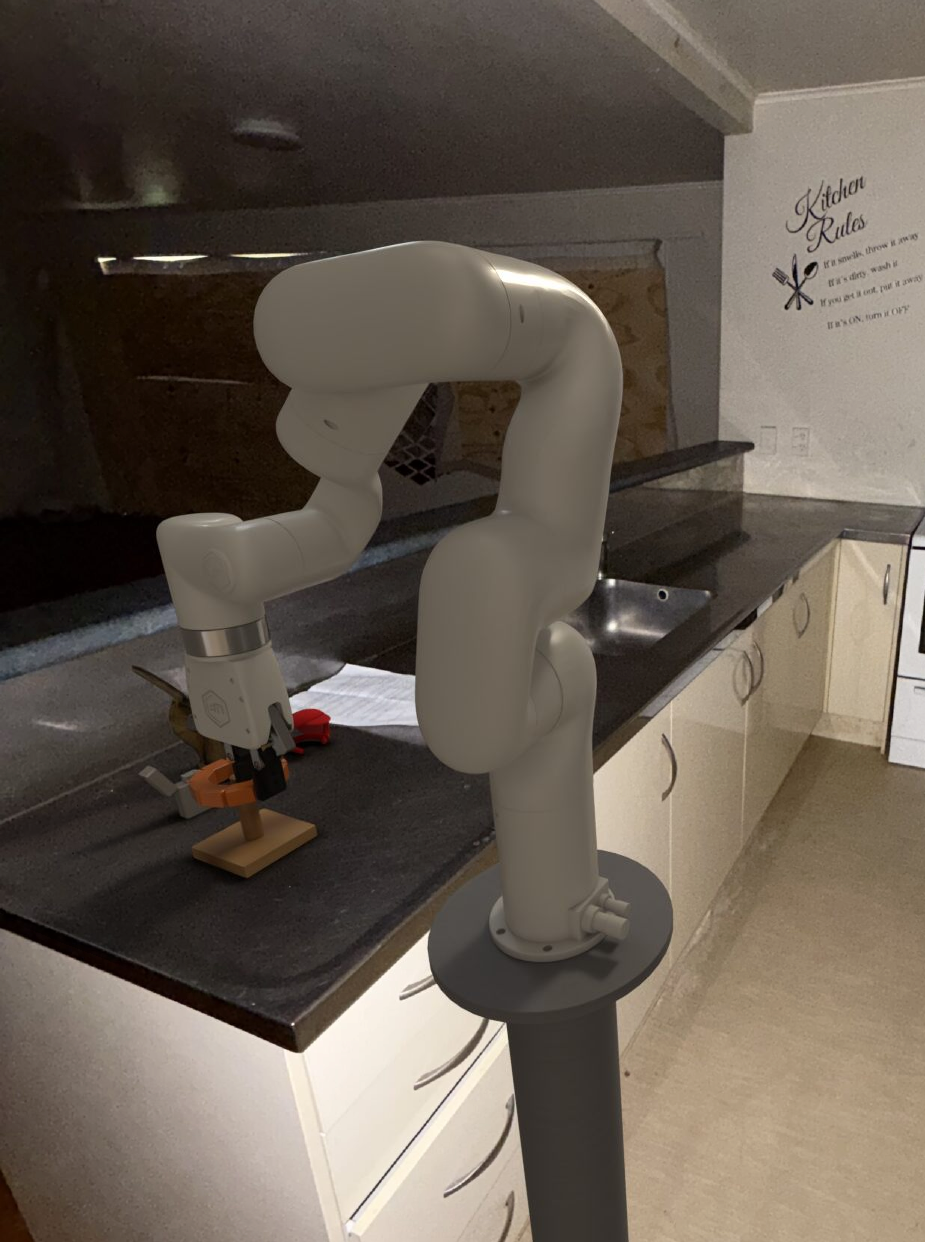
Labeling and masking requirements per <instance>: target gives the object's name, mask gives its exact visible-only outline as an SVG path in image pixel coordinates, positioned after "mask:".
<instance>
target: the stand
mask: <svg viewBox="0 0 925 1242" xmlns="http://www.w3.org/2000/svg"><path fill="white" fill-rule="evenodd" d="M228 780H229V784H230V785H231V784H236V780H235V776H234V774H232V775H231V776H230V777H229V779H228ZM235 807H236V810H237V814H238V818H239V819H238V820H239V821H237V822H235V823H233V824H232V825H230V826H228V827H225V828H224V829H222V830H220V831H218V832H216V833H215V834H213V835H211V836H209V837H207V838H205V839H204V840H201V841H199V842H197V843H195V844H194V845H192V846H191V847H190V849H191V853H192V856H193V859H196V860H199V861H201V862H204V863H206V864H209V865H211V866H213V867H217V868H219V869H222V870H223V871H224V870H225V871H227V872H230V873H232V874H235V875H237V876H240V877H243V878H245V879H248V878H250V877H252V876H253V875H255V874H256V873H258V872H260V871H262V870H264V869H265V868H267V867H268V866H270V865H271V864H273V863H275V862H277V861H278V860H279V859H282V858H283V857H285V856H287V855H288V854H289V853H291V852H293V851H295V850H296V849H298V848H299V847H301V846H303V845H304V844H306V843H307V842H309V841H311V840H313V839H315V838H316V837H317V836H318V831H317V827H316V824H313V823H310V822H307V821H304V820H301V819H299V818H298V819H297V818H295V817H291V816H289V815H286V814H282V813H280V812H276V811H274V810H270V809H268V808H262V809H260V808H259V805H258V801H257V800H256V801H255V802H250V803H246V804H242V805H237V806H235Z"/></svg>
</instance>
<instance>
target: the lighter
mask: <svg viewBox="0 0 925 1242" xmlns="http://www.w3.org/2000/svg"><path fill="white" fill-rule="evenodd" d="M198 770H199V769H194V768H193V769H192V770H189V771H187V772H185V773H183V774H181V775H180V778H181V780H180V781H178V782H175V783H173V782H172V781H171V780H169V778H167V777H166V776H165V775H164V774H163V773H162V772H160V771H159V770H158V769H157V768H155V767H153V766H151V765H147V766H145V767H144V769H142V770H140V772H139V773H138V776H140V777H141V778H142V780H144V781H146V783H148V784H149V785H150V786H151V787H153V788H154V789H155V790H156V791H158V792H159V793H160V794H161V795H163V796H166V797H167V798H170V797H171V796H172V795H174V799H175V802H176V805H177V808H178V812H179V816H180V817H182V818H184V819H191V818H194V817H195V816H197V815H199V814H201V813H203V812H206V811H207V810H210V809H212V808H213V807H203V806H202V805H198V803H197V802H196V801H195V800H194V799H193V798H192V796H191V792H190V789H189V785H188V783H189V780H190V779H191V778H192V777H193V775H194V774H195V773H196V772H197V771H198Z"/></svg>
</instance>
